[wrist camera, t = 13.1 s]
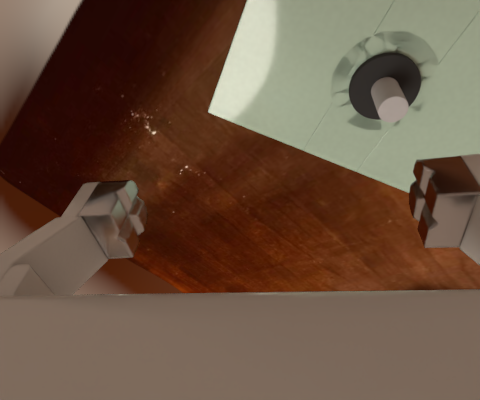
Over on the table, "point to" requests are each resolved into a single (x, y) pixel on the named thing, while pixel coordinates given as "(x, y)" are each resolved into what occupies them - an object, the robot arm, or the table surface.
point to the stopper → (385, 87)
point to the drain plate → (341, 71)
